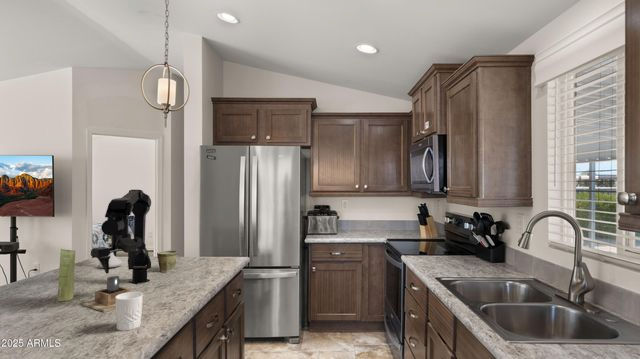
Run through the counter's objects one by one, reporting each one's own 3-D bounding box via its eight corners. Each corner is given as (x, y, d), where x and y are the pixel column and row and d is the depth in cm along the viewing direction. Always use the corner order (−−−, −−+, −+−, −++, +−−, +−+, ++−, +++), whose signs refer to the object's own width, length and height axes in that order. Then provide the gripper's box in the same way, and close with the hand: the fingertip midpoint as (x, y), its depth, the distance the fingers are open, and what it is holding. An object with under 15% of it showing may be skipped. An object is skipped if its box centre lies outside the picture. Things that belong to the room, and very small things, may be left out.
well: (82, 305, 128) (83, 292, 128) (119, 294, 140) (120, 283, 140) (104, 312, 121) (104, 298, 121) (141, 300, 133) (141, 288, 134)
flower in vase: (104, 270, 178) (105, 222, 179) (94, 267, 184) (95, 221, 185) (129, 266, 189) (130, 221, 190) (119, 263, 195) (120, 219, 196)
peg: (104, 301, 130) (104, 277, 130) (114, 298, 133) (115, 275, 133) (110, 303, 128) (111, 279, 128) (120, 300, 131) (121, 276, 132)
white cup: (121, 321, 113) (122, 291, 113) (146, 321, 114) (147, 291, 114) (109, 332, 105) (110, 299, 105) (135, 331, 106) (136, 299, 106)
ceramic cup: (172, 273, 175) (172, 254, 175) (152, 273, 175) (153, 253, 175) (182, 267, 188) (183, 249, 188) (164, 267, 188) (165, 249, 188)
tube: (76, 296, 137) (77, 248, 138) (73, 300, 133) (75, 250, 133) (59, 298, 135) (60, 248, 135) (55, 302, 130) (57, 251, 130)
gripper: (107, 236, 122) (106, 279, 122) (154, 230, 138) (153, 268, 138) (90, 233, 127) (89, 275, 127) (137, 227, 144) (136, 264, 144)
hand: (119, 270), depth 134 cm, fingers open, 9 cm apart
